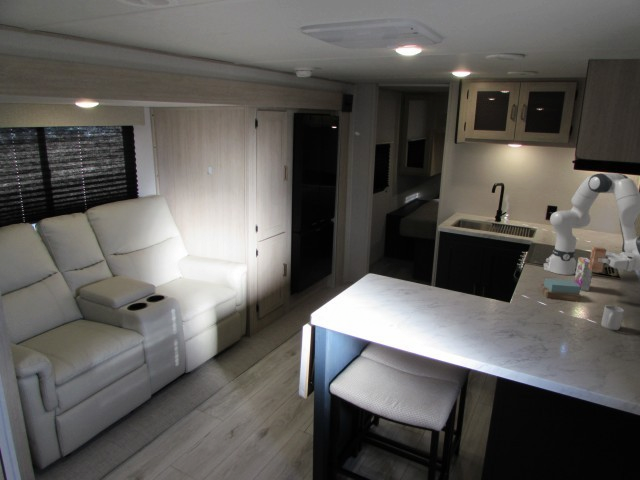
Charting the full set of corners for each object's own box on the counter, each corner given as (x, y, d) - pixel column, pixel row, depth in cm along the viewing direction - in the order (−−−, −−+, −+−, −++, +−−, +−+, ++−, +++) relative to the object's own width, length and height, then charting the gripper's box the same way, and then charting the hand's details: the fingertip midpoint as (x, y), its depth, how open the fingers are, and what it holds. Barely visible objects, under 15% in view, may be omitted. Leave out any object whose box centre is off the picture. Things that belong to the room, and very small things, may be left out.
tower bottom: (540, 291, 251) (541, 284, 250) (571, 294, 248) (573, 287, 247) (546, 299, 239) (547, 292, 238) (579, 303, 236) (581, 295, 235)
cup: (620, 326, 206) (624, 308, 204) (617, 333, 199) (621, 314, 197) (602, 322, 211) (606, 304, 209) (598, 328, 203) (602, 309, 201)
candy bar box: (572, 284, 264) (578, 256, 260) (582, 285, 263) (587, 257, 259) (579, 290, 253) (585, 262, 249) (589, 291, 252) (595, 263, 248)
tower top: (544, 285, 248) (545, 278, 247) (570, 287, 247) (572, 280, 246) (551, 292, 238) (552, 284, 237) (579, 294, 237) (580, 286, 236)
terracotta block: (588, 268, 242) (592, 246, 239) (598, 269, 241) (602, 247, 238) (591, 271, 237) (595, 248, 234) (601, 272, 236) (606, 249, 233)
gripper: (618, 249, 244) (589, 247, 247) (634, 260, 225) (603, 257, 227) (615, 261, 246) (587, 258, 248) (632, 272, 226) (601, 269, 229)
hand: (595, 257), depth 238 cm, fingers closed on terracotta block, 5 cm apart
